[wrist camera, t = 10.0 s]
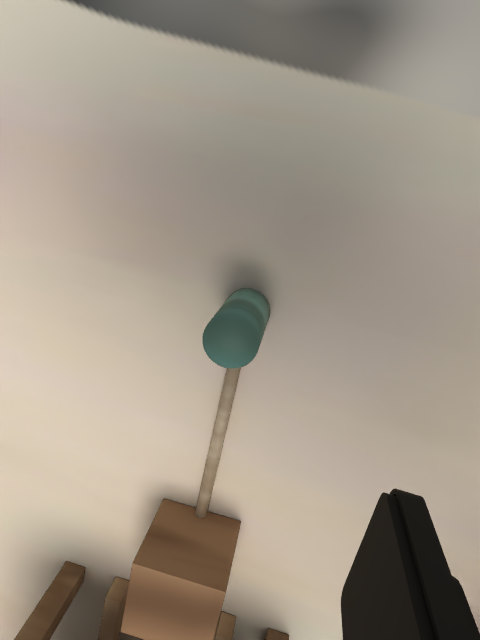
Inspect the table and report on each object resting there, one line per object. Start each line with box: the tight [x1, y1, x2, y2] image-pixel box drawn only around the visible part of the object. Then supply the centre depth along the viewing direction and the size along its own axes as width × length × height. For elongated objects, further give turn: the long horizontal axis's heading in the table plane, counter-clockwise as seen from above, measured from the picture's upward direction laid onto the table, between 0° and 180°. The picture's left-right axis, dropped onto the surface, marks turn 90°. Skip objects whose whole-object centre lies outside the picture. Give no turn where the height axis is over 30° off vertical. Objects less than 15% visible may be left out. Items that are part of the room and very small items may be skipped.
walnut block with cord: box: [121, 289, 270, 640], centre depth 23 cm, size 19×5×5 cm, turn 168°
